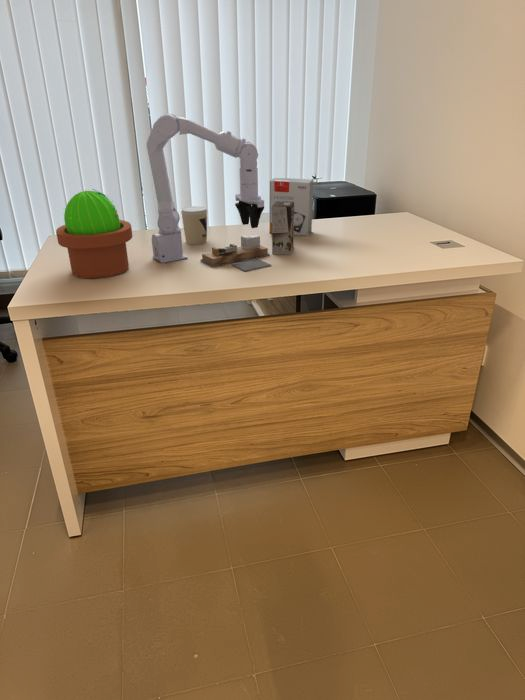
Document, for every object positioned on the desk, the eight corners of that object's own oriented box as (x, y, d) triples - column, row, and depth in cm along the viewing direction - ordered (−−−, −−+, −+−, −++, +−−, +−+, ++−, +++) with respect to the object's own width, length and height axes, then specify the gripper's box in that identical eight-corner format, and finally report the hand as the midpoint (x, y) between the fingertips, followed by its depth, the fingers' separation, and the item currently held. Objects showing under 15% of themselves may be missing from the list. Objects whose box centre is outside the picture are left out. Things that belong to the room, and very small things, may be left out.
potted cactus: (62, 285, 152) (45, 197, 141) (66, 263, 171) (50, 184, 159) (139, 277, 157) (128, 192, 146) (134, 257, 176) (124, 180, 165)
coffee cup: (207, 244, 189) (205, 211, 183) (181, 245, 189) (179, 211, 184) (210, 238, 197) (208, 206, 192) (185, 238, 197) (183, 206, 192)
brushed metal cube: (247, 250, 172) (247, 238, 170) (241, 247, 175) (240, 236, 173) (260, 248, 175) (259, 236, 173) (253, 245, 178) (253, 233, 176)
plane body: (212, 267, 165) (211, 252, 163) (200, 261, 171) (199, 247, 169) (269, 255, 175) (269, 241, 173) (256, 250, 181) (256, 236, 179)
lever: (217, 253, 169) (224, 253, 165) (216, 248, 169) (223, 248, 164) (230, 251, 172) (238, 250, 167) (229, 246, 171) (237, 246, 167)
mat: (244, 271, 160) (244, 270, 160) (231, 265, 166) (231, 264, 166) (271, 265, 165) (271, 264, 165) (257, 259, 171) (257, 258, 171)
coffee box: (290, 254, 176) (290, 206, 168) (271, 254, 177) (271, 205, 170) (294, 247, 184) (294, 201, 176) (276, 246, 185) (276, 200, 178)
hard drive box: (268, 233, 202) (268, 180, 193) (274, 229, 208) (274, 177, 199) (308, 236, 197) (309, 181, 188) (312, 231, 204) (313, 178, 195)
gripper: (272, 184, 162) (272, 228, 168) (247, 179, 173) (248, 220, 179) (252, 187, 159) (253, 231, 165) (229, 181, 169) (231, 223, 176)
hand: (250, 226), depth 172 cm, fingers open, 5 cm apart
